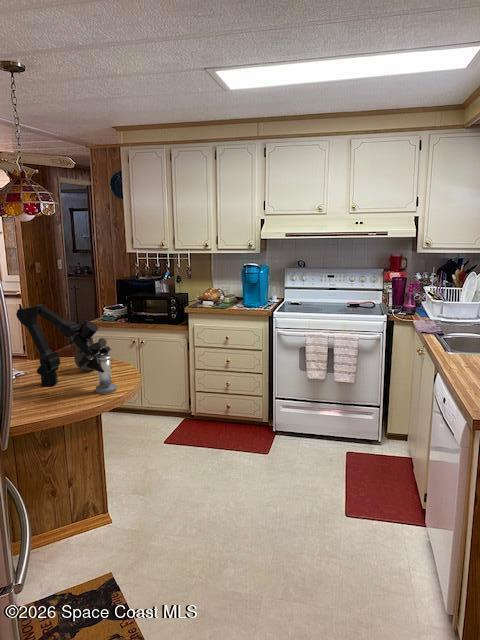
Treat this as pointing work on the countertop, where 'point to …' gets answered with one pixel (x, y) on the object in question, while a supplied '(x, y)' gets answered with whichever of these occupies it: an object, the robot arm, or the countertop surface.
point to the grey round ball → (78, 358)
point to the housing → (106, 366)
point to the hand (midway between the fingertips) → (107, 370)
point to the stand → (106, 389)
